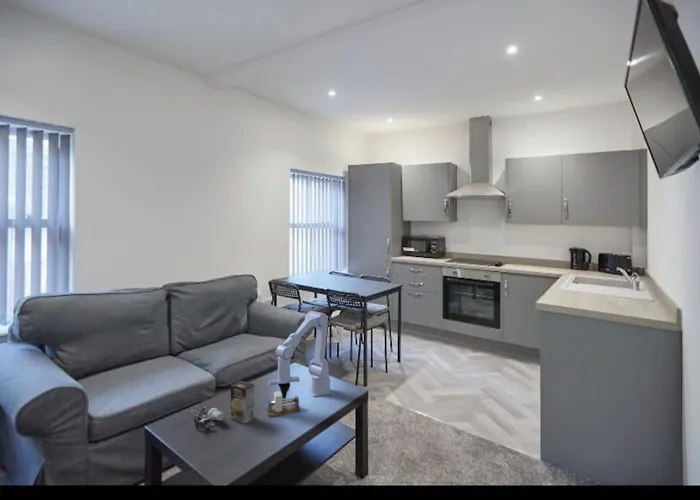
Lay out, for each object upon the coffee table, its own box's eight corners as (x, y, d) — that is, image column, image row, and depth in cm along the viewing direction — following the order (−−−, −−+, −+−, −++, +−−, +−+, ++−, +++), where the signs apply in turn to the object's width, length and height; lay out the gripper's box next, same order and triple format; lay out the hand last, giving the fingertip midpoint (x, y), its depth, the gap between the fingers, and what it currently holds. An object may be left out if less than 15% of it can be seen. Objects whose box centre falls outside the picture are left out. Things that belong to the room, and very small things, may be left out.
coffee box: (229, 419, 172) (229, 385, 171) (239, 412, 178) (239, 379, 177) (245, 424, 168) (245, 389, 167) (255, 417, 174) (254, 383, 173)
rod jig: (297, 404, 186) (297, 393, 186) (300, 411, 180) (300, 400, 179) (266, 409, 181) (266, 398, 181) (268, 417, 174) (268, 405, 174)
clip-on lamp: (186, 425, 172) (202, 432, 160) (183, 411, 172) (199, 418, 160) (211, 413, 181) (228, 419, 168) (208, 400, 181) (225, 405, 168)
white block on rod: (280, 405, 182) (280, 391, 182) (282, 410, 177) (282, 395, 177) (273, 406, 181) (273, 391, 181) (275, 412, 176) (275, 396, 176)
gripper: (296, 365, 185) (296, 391, 186) (267, 369, 180) (267, 396, 181) (300, 370, 179) (300, 398, 180) (269, 374, 173) (269, 403, 174)
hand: (283, 397), depth 180 cm, fingers closed
